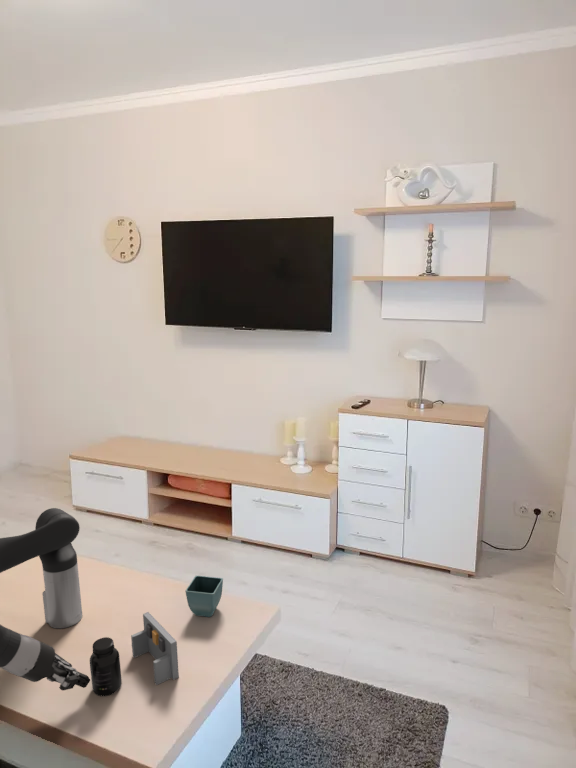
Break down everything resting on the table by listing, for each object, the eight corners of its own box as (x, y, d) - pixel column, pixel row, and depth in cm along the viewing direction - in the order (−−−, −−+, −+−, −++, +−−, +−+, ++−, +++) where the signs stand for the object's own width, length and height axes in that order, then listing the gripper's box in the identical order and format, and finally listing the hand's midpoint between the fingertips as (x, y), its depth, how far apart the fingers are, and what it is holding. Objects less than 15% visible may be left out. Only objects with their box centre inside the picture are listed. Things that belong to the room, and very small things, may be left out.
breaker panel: (158, 687, 137) (155, 650, 135) (131, 654, 149) (128, 619, 147) (178, 677, 140) (176, 641, 138) (150, 645, 152) (148, 611, 150)
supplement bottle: (96, 678, 140) (92, 635, 138) (124, 676, 141) (120, 633, 138) (89, 698, 133) (84, 653, 131) (118, 696, 134) (114, 651, 132)
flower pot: (215, 622, 162) (213, 593, 160) (186, 619, 164) (184, 590, 162) (224, 605, 170) (223, 577, 169) (196, 602, 172) (195, 575, 171)
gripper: (7, 657, 127) (67, 681, 137) (22, 690, 117) (86, 714, 127) (30, 627, 129) (87, 653, 139) (47, 656, 119) (107, 682, 129)
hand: (86, 682), depth 133 cm, fingers closed
